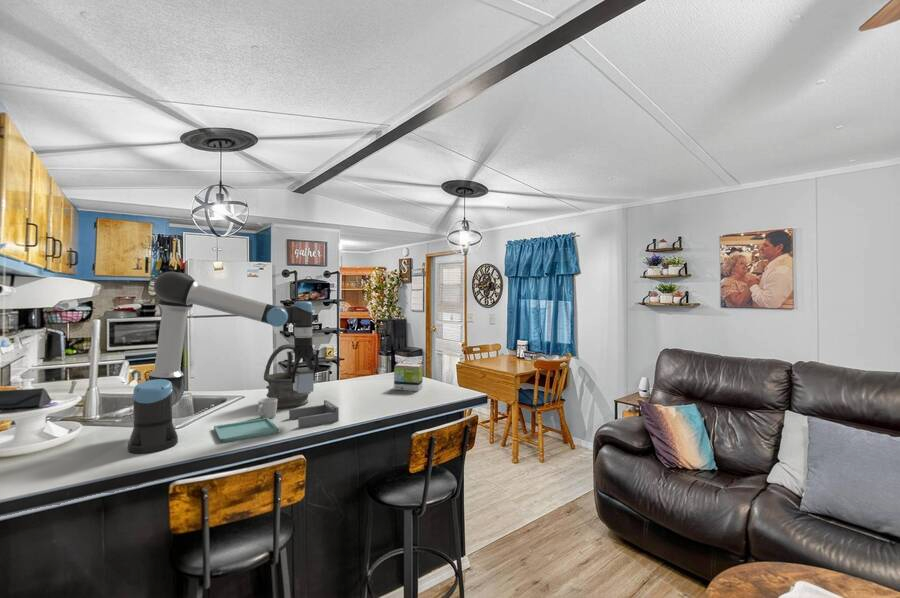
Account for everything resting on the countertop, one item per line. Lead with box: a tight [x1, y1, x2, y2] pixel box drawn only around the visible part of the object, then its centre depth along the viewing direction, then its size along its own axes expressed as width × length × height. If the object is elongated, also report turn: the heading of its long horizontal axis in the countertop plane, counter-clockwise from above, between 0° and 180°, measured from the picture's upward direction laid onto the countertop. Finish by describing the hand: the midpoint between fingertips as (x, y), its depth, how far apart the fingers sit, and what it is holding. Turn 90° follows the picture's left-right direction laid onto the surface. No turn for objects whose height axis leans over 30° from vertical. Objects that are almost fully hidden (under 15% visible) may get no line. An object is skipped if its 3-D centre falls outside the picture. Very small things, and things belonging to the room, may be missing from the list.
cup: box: [256, 397, 278, 419], centre depth 191 cm, size 11×8×8 cm
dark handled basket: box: [263, 343, 312, 409], centre depth 216 cm, size 22×23×30 cm
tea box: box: [393, 362, 424, 392], centre depth 250 cm, size 15×10×15 cm, turn 80°
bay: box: [288, 399, 340, 429], centre depth 189 cm, size 17×16×6 cm
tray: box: [213, 418, 280, 444], centre depth 173 cm, size 21×19×2 cm
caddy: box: [295, 366, 315, 393], centre depth 186 cm, size 6×10×9 cm, turn 35°
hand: (303, 389), depth 186 cm, fingers closed on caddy, 6 cm apart
